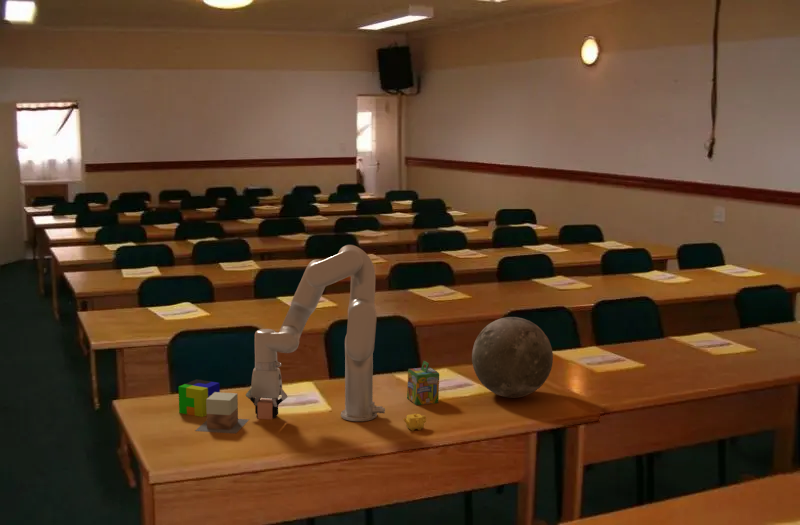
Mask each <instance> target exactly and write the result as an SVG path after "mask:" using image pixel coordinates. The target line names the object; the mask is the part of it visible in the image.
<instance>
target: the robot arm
mask: <svg viewBox="0 0 800 525" xmlns="http://www.w3.org/2000/svg"><path fill="white" fill-rule="evenodd" d="M348 277H350V287H349V288H350V292H349V303H348V307H347V326H346V327H347V328H346V335H345V338H344V357H345V360H344V363H345V364H344V368H345V369H344V370H345V371H344V378H345V379H344V385H345V386H344V407H345V408H344V409H343V410H342V411H341V412H340V417H341V418H342V419H343V420H344V421H345V420H346V421H349V422H367V421H372V420H374V419H376V418H377V417H378V414H386V413H385V412H386V408H385V407H383V406H382V405H381V406H380V405H378V406H377V405H376V404H375V401H373V399H374V398H373V390H374V389H373V388H374V387H373V386H374V384H373V383H374V382H373V381H374V380H373V378H374V377H373V375H374V374H373V373H374V370H373V369H374V364H373V363H374V360H373V359H374V357H373V356H374V355H373V353H374V351H375V345H376V344H375V342H376V330H377V310H376V305H375V300H376V299H375V298H376V270H375V266H374V264H373V261H372V259H371V257H370V256H369V255H368V254H367V253H366V252H365V251H364V250H363V249H362V248H360V247H359V246H356V245H354V244H346V245H344V246H342V247H341V248H340V249H339V251H338V253H337V254H334V255H333V256H330V257H326V258H325V259H320V258H317V259H316V258H315V259H313V260H311V261H310V262H309V263H308V264H307V266H306V268H305V270H304V272H303V275H302V277H301V280H300V282H299V283H298V285H297V288H296V291H295V292H294V295H293V297H292V300H291V303H290V306H289V309H288V310H287V312H286V316H285V317H284V319H283V322H282V325H281V327H280V328H279V332H277V331H276V330H275V329H271V328H261V329H258V330H256V331H255V333H254V368H253V370H252V375H251V383H250V384H251V385H250V386H251V387H250V389H248V391H247V392H246V394H245V397H246V398H247V399H249V400H250V402H252V404H253V405H254V407H255V408H254V410H255V412H254V413H255V415H256V418H258V406H257V403H258V402H259V401H260V400H261V399H272V401H273V404H274V405H273V419H276V417H277V416H278V415H279V405H280V404H281V403H282V402H283V401H285V400H286V399H287V398H288V395H287V393H286V392H285V390H283V382H282V374H281V369H280V368H279V367H282V362H279V361H278V353H282V354H283V353H284V354H290V353H293V352H296V351H297V349H298V347H299V344H300V339H301V336H302V333H303V331H304V329H305V327H306V323H307V322H308V320H309V318H310V317H311V315H312V314H313V313H314V312H315V311H316V309H317V306H318V304H319V303H320V302H319V301H320V300H321V298H322V296H323V293H324V291H325V288H326V287H327V286H330V285H332V284H335V283H337V282H339V281H342V280H344V279H346V278H348ZM280 396H281V397H280Z"/></svg>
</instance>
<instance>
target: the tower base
mask: <svg viewBox="0 0 800 525" xmlns="http://www.w3.org/2000/svg"><path fill="white" fill-rule="evenodd" d="M238 419H239V408H237V409H236V410H235V411H234V412H233V413H232V414H231V415H218V414H207V415H206V420H207V428H210V429H226V430H230V429H231V428H232V427H233V426H234V425H235V424H236V423H237V422H238Z"/></svg>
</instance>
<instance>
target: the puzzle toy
mask: <svg viewBox="0 0 800 525" xmlns="http://www.w3.org/2000/svg"><path fill="white" fill-rule="evenodd" d="M220 385H221V384H220V382H216V381H209V380H203V379H197V378H196V379H194V380H191V381H189V382H187V383H184V384H182V385H179V386H178V388H177V389H178V411H179V414H183V415H189V416H195V417H200V418H204V417H205V416H206V417H207V408H206V399H207V398H208V397H210V396H211V395H212V394H213V393H214V392H221V391H220V390H221V388H220Z"/></svg>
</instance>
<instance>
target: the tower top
mask: <svg viewBox="0 0 800 525" xmlns="http://www.w3.org/2000/svg"><path fill="white" fill-rule="evenodd" d="M238 398H239V397H238V392H237V393H235V392H221V391H220V392H214V393H213V394H212V395H211V396H210V397H208V398H207V399H206V408H207V414H218V415H231V414H232V413H233V412H234V411H235V410H236V409H237V408H238V407H239V406H238V405H239V402H238ZM238 409H239V408H238Z"/></svg>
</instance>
